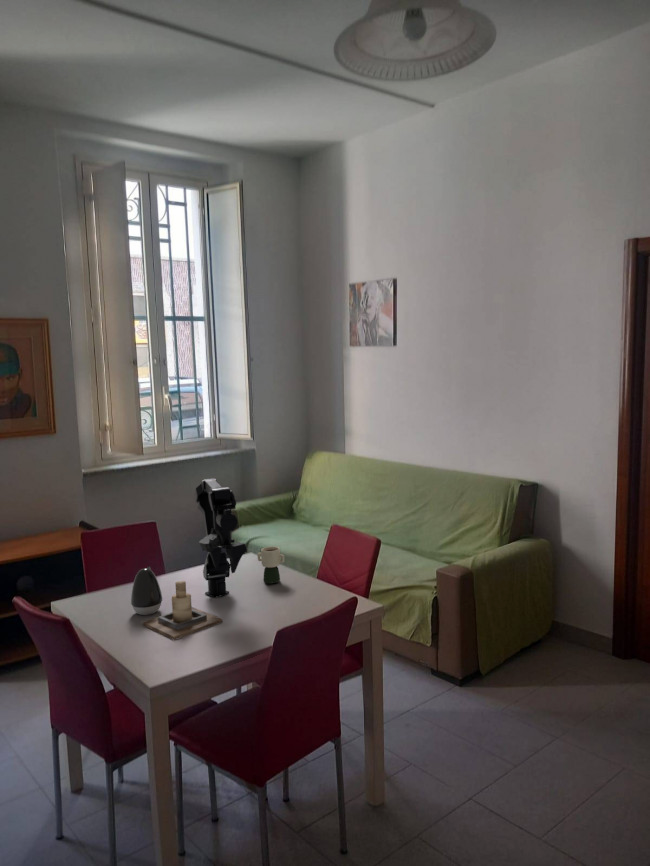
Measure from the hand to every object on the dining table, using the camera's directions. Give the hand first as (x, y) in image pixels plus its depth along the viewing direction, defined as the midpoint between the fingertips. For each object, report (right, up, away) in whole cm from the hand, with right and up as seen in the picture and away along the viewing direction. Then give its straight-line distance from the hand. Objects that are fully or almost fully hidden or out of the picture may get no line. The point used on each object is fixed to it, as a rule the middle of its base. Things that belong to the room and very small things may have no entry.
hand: (224, 570), depth 223 cm
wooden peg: (-12, -14, -11) cm, 21 cm away
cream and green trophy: (+14, -10, +26) cm, 31 cm away
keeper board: (-12, -15, -11) cm, 22 cm away
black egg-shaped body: (-26, -14, 0) cm, 30 cm away
